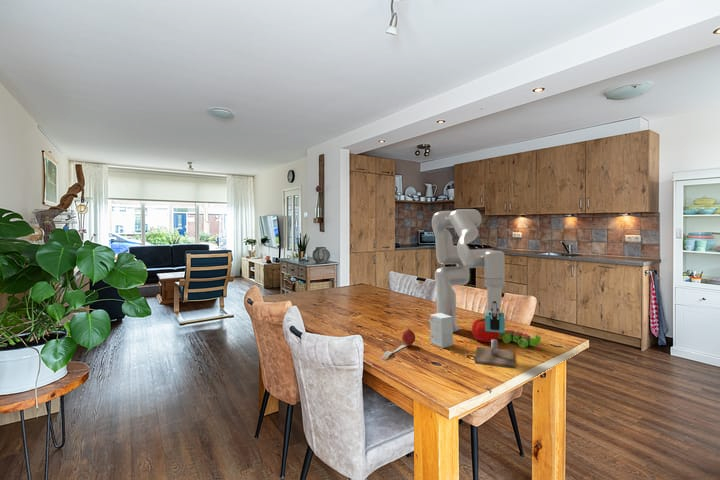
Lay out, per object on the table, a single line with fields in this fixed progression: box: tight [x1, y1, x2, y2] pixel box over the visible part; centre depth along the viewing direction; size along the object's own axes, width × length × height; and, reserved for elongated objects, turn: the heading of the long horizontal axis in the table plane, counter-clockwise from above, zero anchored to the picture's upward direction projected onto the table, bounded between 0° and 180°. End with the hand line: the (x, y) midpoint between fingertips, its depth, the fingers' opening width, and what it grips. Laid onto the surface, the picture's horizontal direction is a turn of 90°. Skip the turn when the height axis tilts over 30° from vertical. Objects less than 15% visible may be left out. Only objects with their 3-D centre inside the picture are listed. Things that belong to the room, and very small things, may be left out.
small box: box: [429, 312, 454, 349], centre depth 153 cm, size 8×6×13 cm
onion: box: [401, 328, 416, 347], centre depth 152 cm, size 6×6×8 cm
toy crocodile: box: [497, 329, 542, 349], centre depth 153 cm, size 20×7×6 cm, turn 38°
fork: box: [381, 344, 407, 361], centre depth 145 cm, size 3×21×3 cm, turn 147°
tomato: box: [471, 318, 499, 343], centre depth 157 cm, size 12×12×10 cm
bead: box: [484, 311, 506, 333], centre depth 136 cm, size 7×7×6 cm
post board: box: [474, 339, 516, 369], centre depth 137 cm, size 14×16×7 cm
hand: (494, 326), depth 136 cm, fingers closed on bead, 7 cm apart
